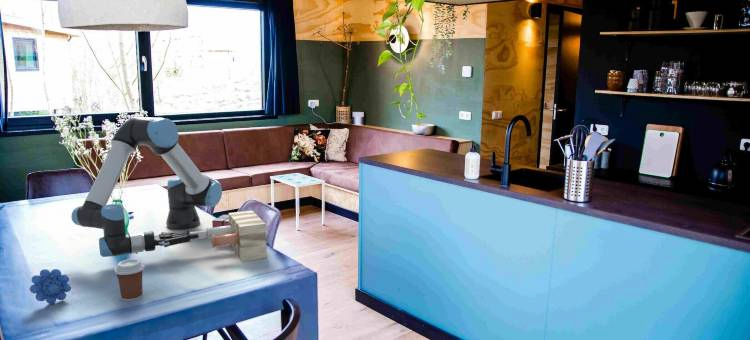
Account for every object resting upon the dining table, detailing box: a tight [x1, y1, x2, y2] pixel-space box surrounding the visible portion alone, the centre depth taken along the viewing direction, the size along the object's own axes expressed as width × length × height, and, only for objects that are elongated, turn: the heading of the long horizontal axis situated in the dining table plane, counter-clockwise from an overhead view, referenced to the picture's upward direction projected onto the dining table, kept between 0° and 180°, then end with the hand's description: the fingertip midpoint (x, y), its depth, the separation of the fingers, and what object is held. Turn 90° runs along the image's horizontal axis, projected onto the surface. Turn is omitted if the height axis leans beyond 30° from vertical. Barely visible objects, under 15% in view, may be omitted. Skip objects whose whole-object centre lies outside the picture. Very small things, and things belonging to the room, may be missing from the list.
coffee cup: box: [113, 258, 145, 302], centre depth 182 cm, size 9×9×12 cm
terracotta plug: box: [210, 233, 239, 248], centre depth 217 cm, size 5×14×5 cm, turn 116°
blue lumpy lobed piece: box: [29, 268, 72, 305], centre depth 177 cm, size 12×7×12 cm, turn 136°
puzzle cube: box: [211, 214, 229, 228], centre depth 240 cm, size 10×10×10 cm
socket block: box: [227, 210, 268, 262], centre depth 226 cm, size 22×10×14 cm, turn 26°
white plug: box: [205, 225, 233, 240], centre depth 228 cm, size 5×14×5 cm, turn 116°
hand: (206, 233), depth 224 cm, fingers closed
